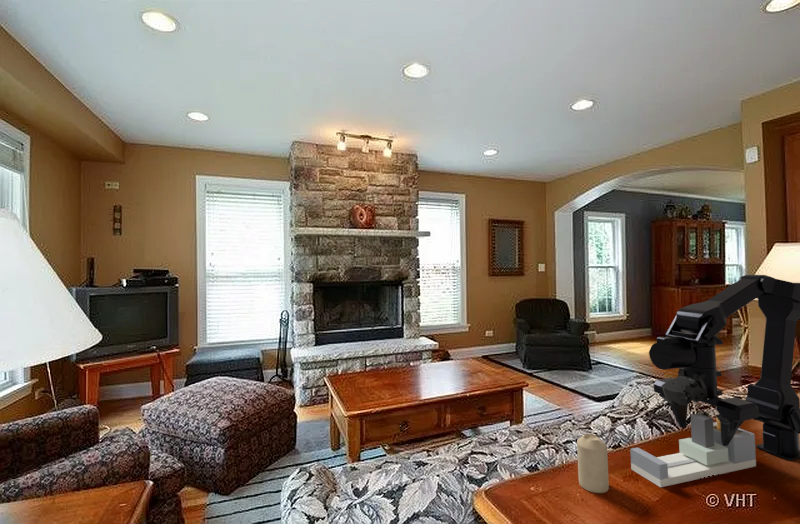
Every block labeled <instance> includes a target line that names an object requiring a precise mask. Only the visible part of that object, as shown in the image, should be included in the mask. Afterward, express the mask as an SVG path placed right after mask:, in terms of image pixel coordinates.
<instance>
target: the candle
mask: <svg viewBox="0 0 800 524" xmlns="http://www.w3.org/2000/svg"><path fill="white" fill-rule="evenodd" d="M576 449H577V450H576V451H577V453H576V454H577V473H578V483H579V486H581V488H582V489H584V490H585V491H588V492H591V493H596V494H604V493H606V492H608V491H609V488H610V486H609V485H610V484H609V483H610V481H609V463H608V462H609V461H608V459H609V458H608V445H607V444H606V443H605V442H604V441H603V439H600V438H599V437H598V436H597V435H595V434H593V433H585V434H584V435H582V436H581V437H580V438H578V439H577V441H576Z"/></svg>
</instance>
